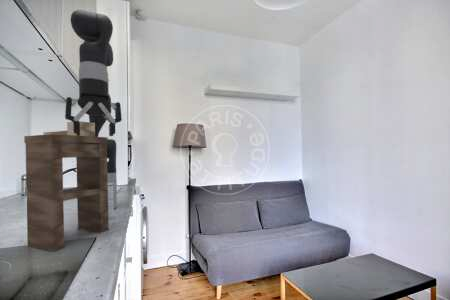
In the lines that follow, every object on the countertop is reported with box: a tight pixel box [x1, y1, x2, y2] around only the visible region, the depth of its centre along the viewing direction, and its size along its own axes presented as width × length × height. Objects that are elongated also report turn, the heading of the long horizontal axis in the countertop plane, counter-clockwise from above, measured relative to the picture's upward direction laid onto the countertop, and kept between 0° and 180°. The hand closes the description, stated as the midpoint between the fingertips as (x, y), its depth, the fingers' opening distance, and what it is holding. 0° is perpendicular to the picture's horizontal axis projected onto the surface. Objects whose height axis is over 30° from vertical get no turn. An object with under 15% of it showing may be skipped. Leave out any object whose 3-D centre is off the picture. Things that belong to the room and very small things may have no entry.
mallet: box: [42, 120, 95, 137], centre depth 78 cm, size 6×20×5 cm, turn 69°
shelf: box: [23, 134, 110, 253], centre depth 71 cm, size 18×12×32 cm, turn 159°
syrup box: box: [108, 183, 115, 220], centre depth 91 cm, size 6×6×14 cm
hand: (95, 135), depth 66 cm, fingers open, 8 cm apart
